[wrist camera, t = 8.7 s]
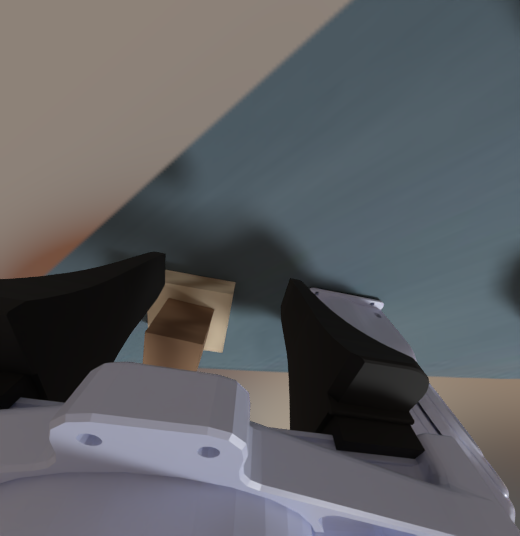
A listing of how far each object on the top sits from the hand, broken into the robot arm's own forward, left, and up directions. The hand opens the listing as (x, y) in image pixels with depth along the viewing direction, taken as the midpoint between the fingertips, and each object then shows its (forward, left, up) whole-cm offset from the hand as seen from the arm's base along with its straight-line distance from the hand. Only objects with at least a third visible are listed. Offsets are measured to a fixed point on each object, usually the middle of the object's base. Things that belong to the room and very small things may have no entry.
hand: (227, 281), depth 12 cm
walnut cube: (+4, +11, -8) cm, 14 cm away
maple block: (+4, +11, -11) cm, 16 cm away
